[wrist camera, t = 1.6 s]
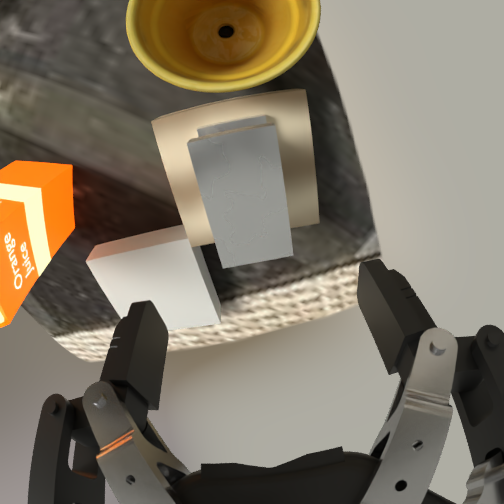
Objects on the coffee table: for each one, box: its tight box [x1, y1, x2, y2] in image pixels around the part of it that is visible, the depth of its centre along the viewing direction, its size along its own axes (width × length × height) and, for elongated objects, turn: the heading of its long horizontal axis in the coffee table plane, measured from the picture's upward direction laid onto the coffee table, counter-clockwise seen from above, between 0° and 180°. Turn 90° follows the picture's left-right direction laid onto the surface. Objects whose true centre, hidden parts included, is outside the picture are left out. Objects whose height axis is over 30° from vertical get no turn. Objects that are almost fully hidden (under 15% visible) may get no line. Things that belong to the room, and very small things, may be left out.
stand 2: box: [151, 89, 319, 247], centre depth 23 cm, size 12×12×3 cm
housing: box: [187, 114, 293, 268], centre depth 19 cm, size 9×5×6 cm, turn 10°
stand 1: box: [86, 225, 221, 330], centre depth 30 cm, size 12×12×3 cm
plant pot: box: [126, 0, 321, 93], centre depth 13 cm, size 10×10×10 cm
